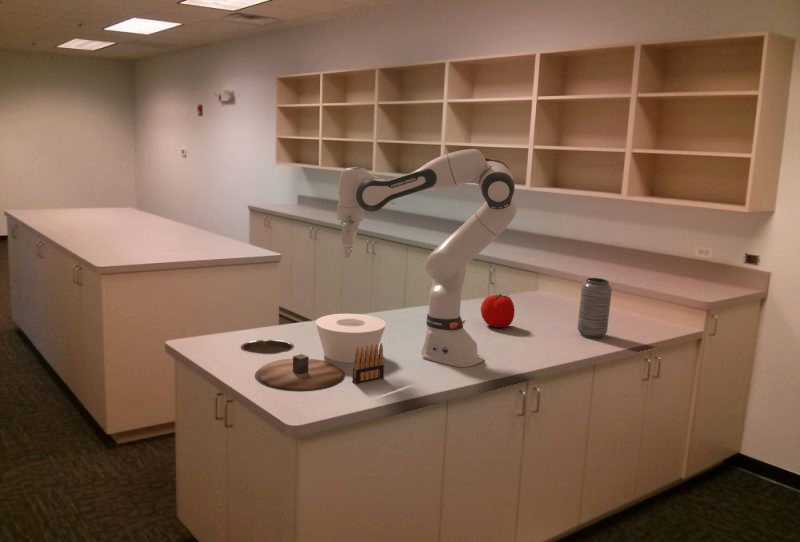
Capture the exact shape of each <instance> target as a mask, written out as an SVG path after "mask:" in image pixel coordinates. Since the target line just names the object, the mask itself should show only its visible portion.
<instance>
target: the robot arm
mask: <svg viewBox="0 0 800 542" xmlns="http://www.w3.org/2000/svg"><path fill="white" fill-rule="evenodd" d="M339 176H340V177H339V183H338V184H339V185H338V196H339V199H338V203H337V213H336V216H337V218H336V219H337V220H338V221H340V225H342V230H341V231H342V232H341V233H342V234H341V246H342V247H344V258H345V259H350V258H351V254H352V252H353V245H354V242H355V240H356V238H357V233H358V227H359V226H360V222H363V221H364V213H365V211H367V212H372V213H373V212H377V211H379V210H381V209H382V208H384V207H385V206H386V205H388V204H389V203H390V202H391V201H394V200H396V199H398V198H401V197H405V196H408V195H412V194H415V193H418V192H419V193H420V192H428V191H430V192H431V191H443V190H448V189H452V188H456V187H460V186H463V185H466V184H476V185H478V186H479V188H480V191H481V195H482V197H483V199H484V200H485V201H484V203H483V205H482V206H480V207H479V209H477V210H476V211H475V212H474V213H473V214H472V215H471V216H470V217H469V218H467V220H466V221H465V222H464V223H462V225H460V227H459V228H458V229H456V230H455V231H454V232H453V233H451V234H450V235H449V236H448V237H447V238H446V239H445V240H444V241H443V242H441V243H440V244H439V245H438V246H437V247H436V248H435V249H434V250H433V251H432V252H431V253H430V254H428V257H427V259H426V262H425V270H426V272H427V274H428V275H429V277H430V278H432V284H431V287H430V290H429V297H428V313H427V314H426V332H425V333H426V334H425V339H424V344H423V345H422V349H421V354H422V358H423V359H424V360H428V361H432V362H436V363H441V364H445V365H450V366H452V367H453V366H454V367H457V368H458V367H459V368H466V367H467V368H468V367H472V366H475V365H479V364H481V363H482V362H483V361H484V360H485V359H484V358H485V357H484V356H483V355H481V354H478V345H477V341H475V340H474V338H472V336H471V335H470V334H469V333H468V332H467V331H466V329H465V328H464V324H465V323H466V320H462V317H461V314H460V313H461V301H462V300H461V299H462V293H463V288H464V287H463V286H464V281H465V277H466V269H467V265H468V264H469V263H470V262H471V261H472V260H474V258H476V257H477V256H478V255H479V254H481V252H482V251H484V250H485V249H486V248H487V247H488V246H489V245H490V244H491V243H492V242H494V240H496V238H498V236H500V235H501V234H502V233H504V230H506V228H507V227H508V226H510V224H511V223H512V221H513V220H514V218H515V217H516V215H517V207H516V206H515V203H514V202H513V201H512V200H513V197H514V193H515V188H516V187H515V185H516V184H515V181H514V176H513V173H512V172H511V169H510V168H509V166H508V165H507V164H506V163H505V162H503V161H500V160H497V159H489V158H486V157H485V156H484V154H483V153H482V152H481V150H479V149H477V148H469V149H461V150H457V151H453V152H449V153H445V154H442V155H440V156H438V157H435V158H433V159H432V160H430V161H428V162H427V163H425V164H424V165H422V166H421V167H419V168H417V169H416V170H413V171H412V172H410V173H407V174H404V175H401V176H398V177H395V178H391V179H387V180H386V179H383V178H381V177H379V176H376V175H374V174H372V173H371V172H369V171H368V170H366V168H365V167H364V166H353V167H347V168H344V169H343V170H342V171H341V173H340V175H339ZM364 210H365V211H364Z"/></svg>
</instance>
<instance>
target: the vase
mask: <svg viewBox="0 0 800 542" xmlns="http://www.w3.org/2000/svg"><path fill="white" fill-rule="evenodd" d="M612 291H613V289H612V286H611V285H610V282H609V280H608V279H605V278H599V277H588V278H586V280H585V281H584V282H583V284H582V285H581V292H580V298H579V299H580V300H579V311H578V319H577V320H578V321H577V331H578V332H579V333H580V335H581V336H582V337H584V338H589V339H602V338H603V337H604V336H605V335H606V334H607V332H608V326H609V325H608V324H609V316H610V310H611V300H612Z"/></svg>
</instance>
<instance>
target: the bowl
mask: <svg viewBox="0 0 800 542" xmlns="http://www.w3.org/2000/svg"><path fill="white" fill-rule="evenodd" d="M315 324H316V329H317V331H318V336H319V340H320V343H321V347H322V350H323V355H324V357H325V358H327V359H329V360H330V361H335V362H339V363H349V364H351V363H352V364H354V362H355V354H356V349H357V347H358V348H359V359H360V352H361V348H362V346H363V348H364V358H365V350H366V347H367V345H368V348H369V356H370V348H371V345H373V349H374V351H375V346H376V344H377V345H378V347H380V344H381V340H382V336H383V334H384V331H385V328H386V325H387V324H386V322H385V320H383V319H382V318H379V317H376V316H373V315H368V314H362V313H361V314H360V313H334V314H333V313H332V314H328V315H324V316H321V317H319V318H317V319H316V320H315Z"/></svg>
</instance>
